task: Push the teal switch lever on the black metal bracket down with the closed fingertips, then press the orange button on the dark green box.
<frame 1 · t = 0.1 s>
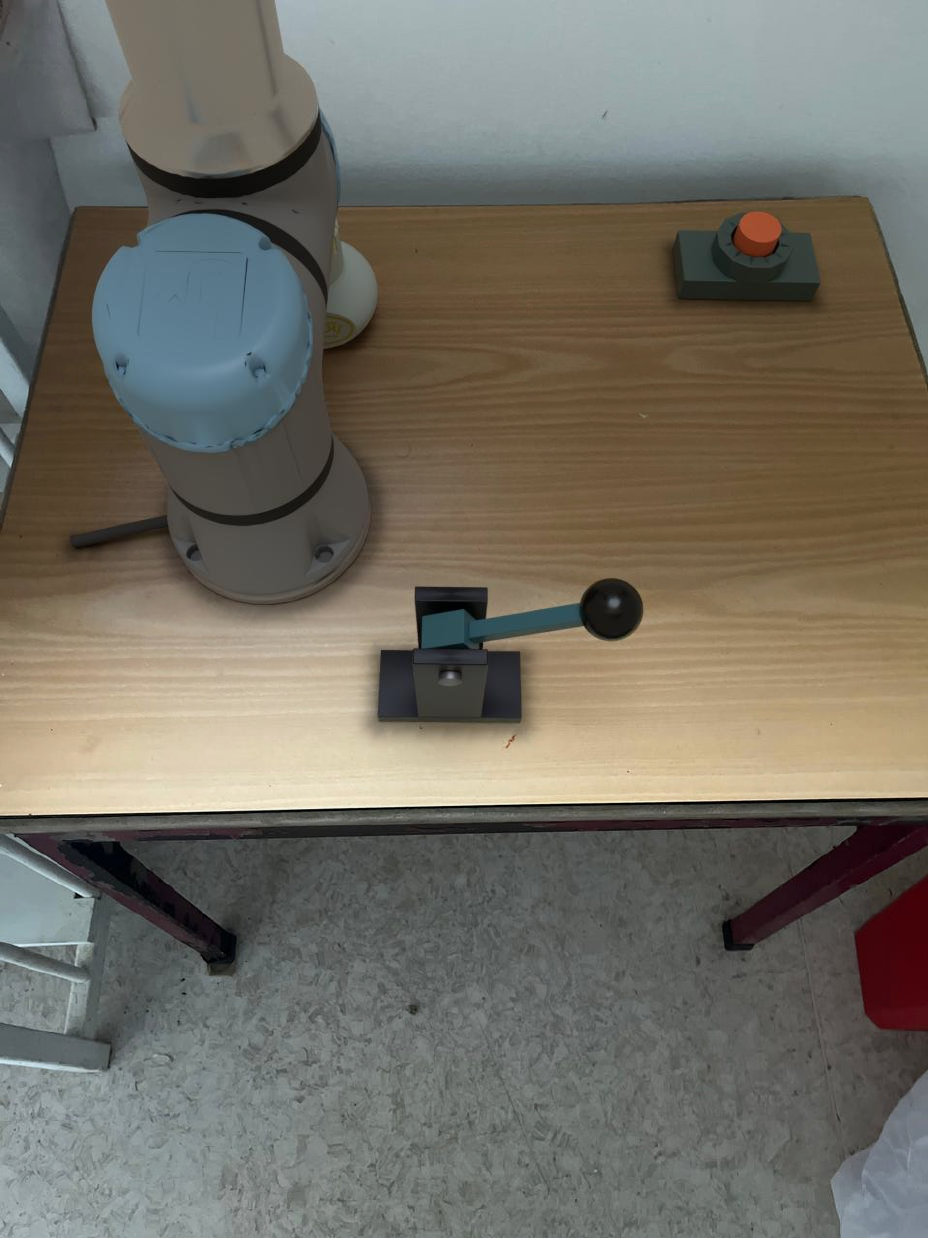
button: (757, 234, 73), point 4 cm above the table, slide at 0.1 cm
switch bracket: (450, 688, 61), on the table
air freshener: (318, 319, 74), on the table
button box: (740, 274, 77), on the table
switch lever: (531, 622, 50), point 12 cm above the table, hinge at 25.0°
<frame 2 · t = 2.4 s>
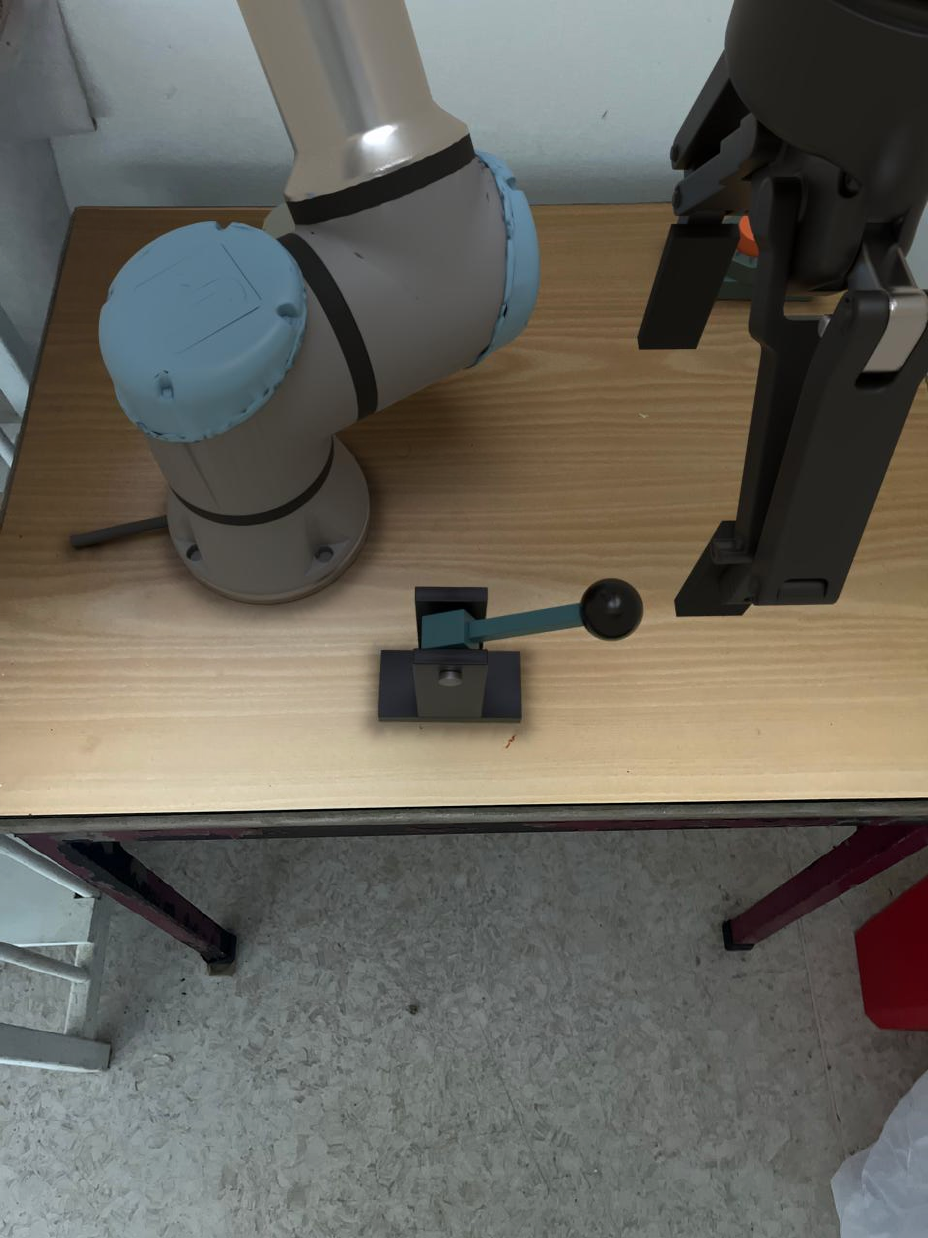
hand: (685, 466, 37), 27 cm above the table, tool pointing down, fingers open, 13 cm apart
nothing on the table moved.
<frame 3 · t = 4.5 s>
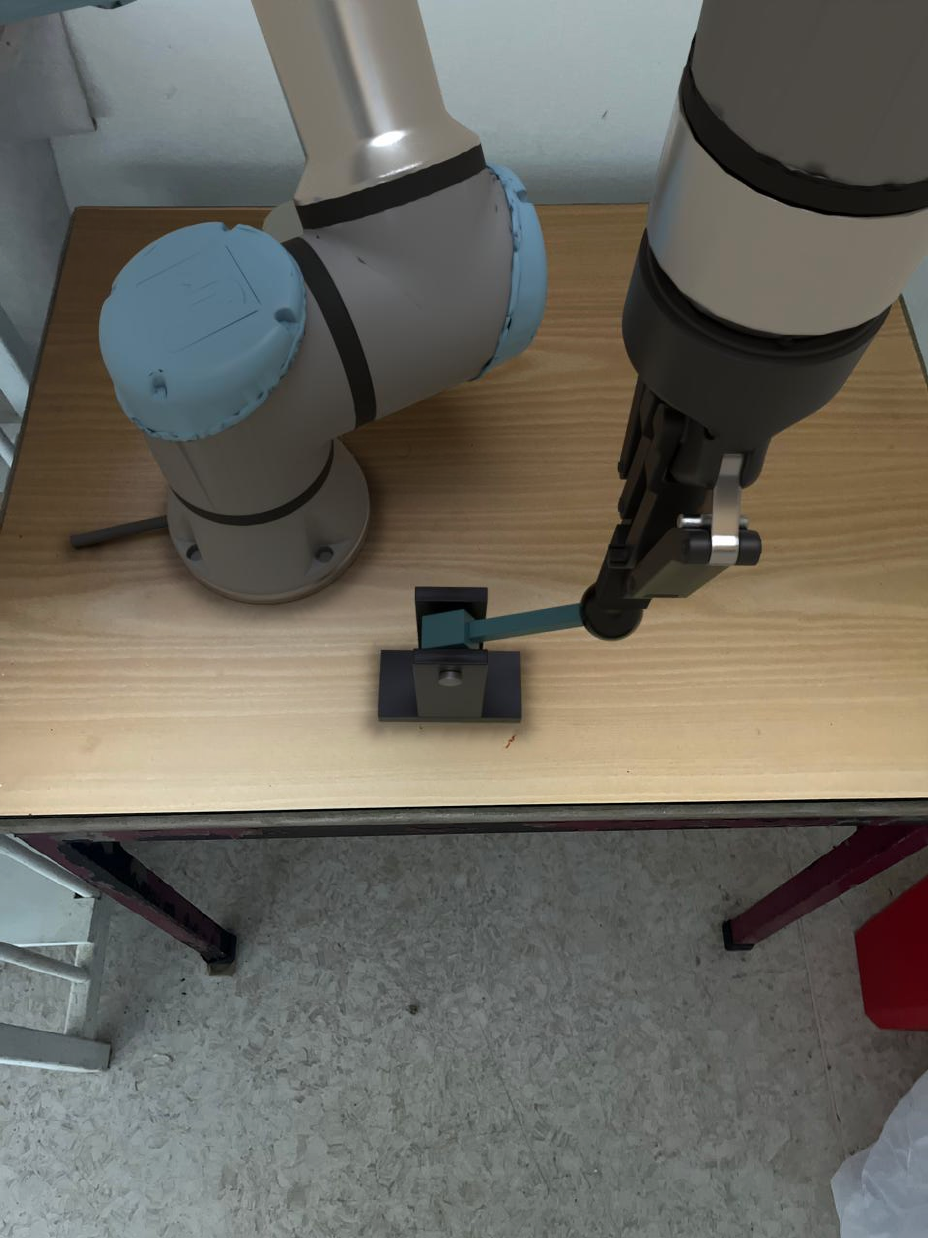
hand: (620, 596, 46), 16 cm above the table, tool pointing down, fingers closed
switch lever: (531, 622, 50), point 12 cm above the table, hinge at 25.0°, touching gripper
everything else where it was.
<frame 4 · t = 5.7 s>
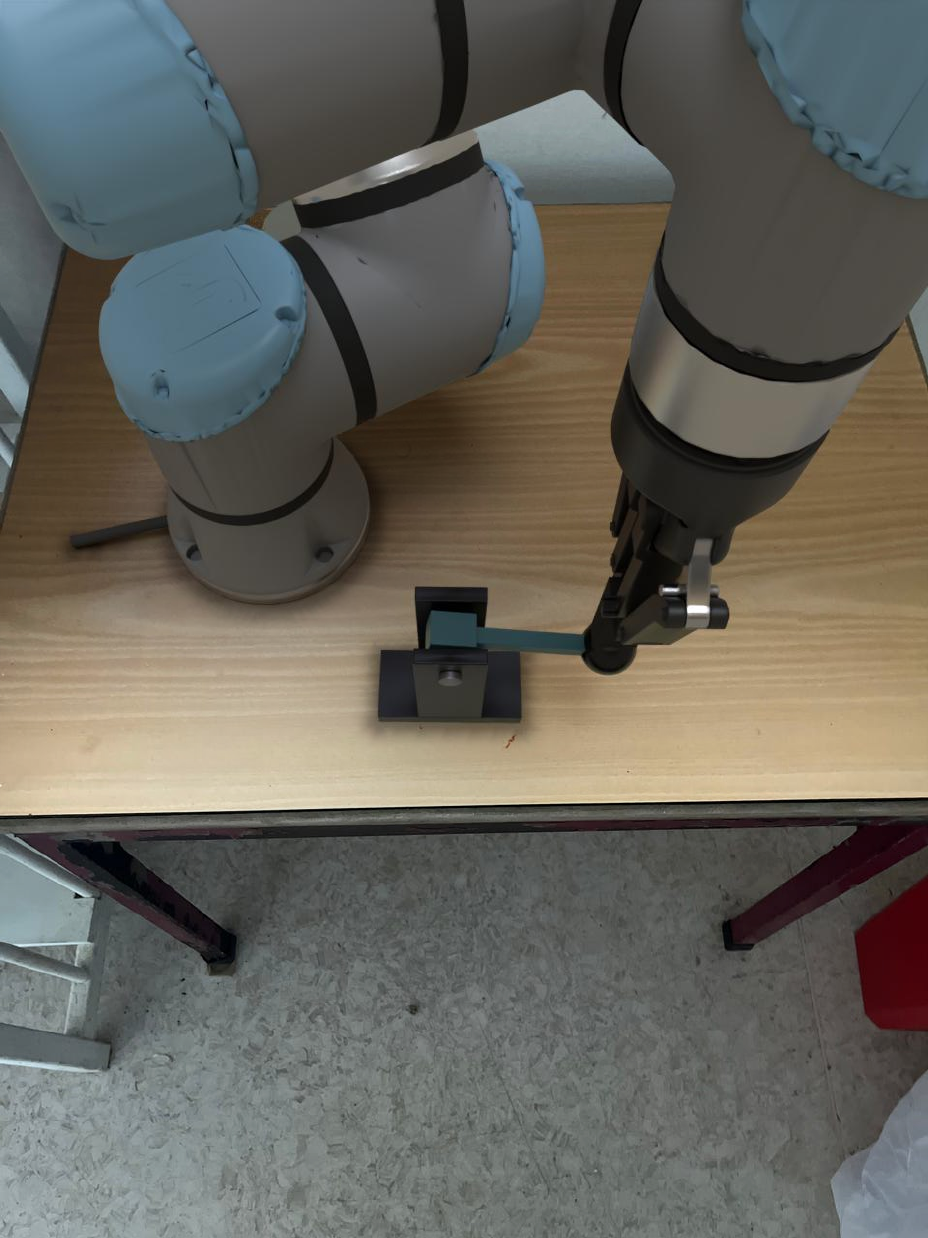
hand: (613, 635, 51), 11 cm above the table, tool pointing down, fingers closed
switch lever: (533, 641, 53), point 9 cm above the table, hinge at -8.5°, touching gripper
everything else where it was.
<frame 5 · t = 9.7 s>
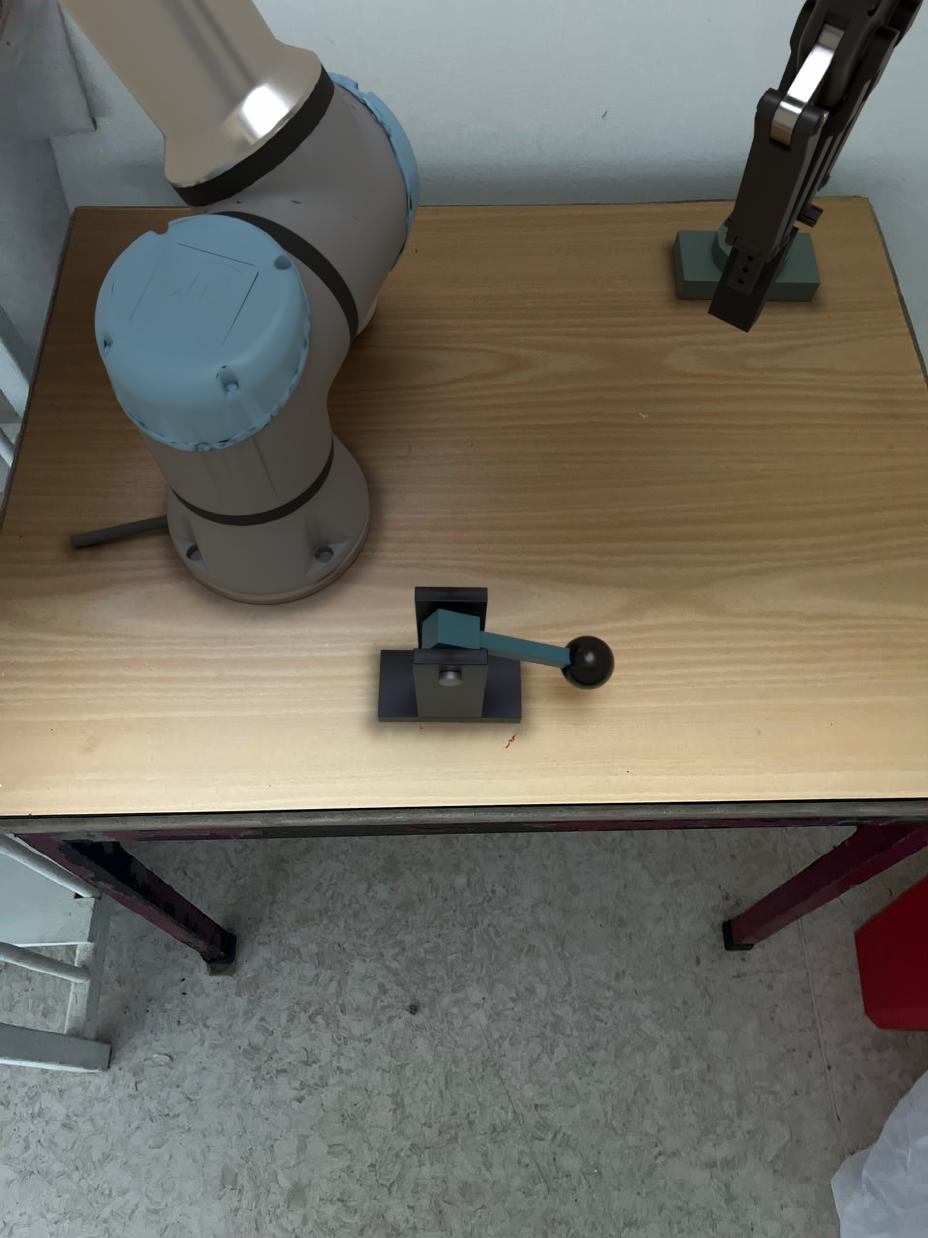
hand: (733, 314, 51), 19 cm above the table, tool pointing down, fingers closed
switch lever: (524, 650, 54), point 8 cm above the table, hinge at -25.7°
everything else where it was.
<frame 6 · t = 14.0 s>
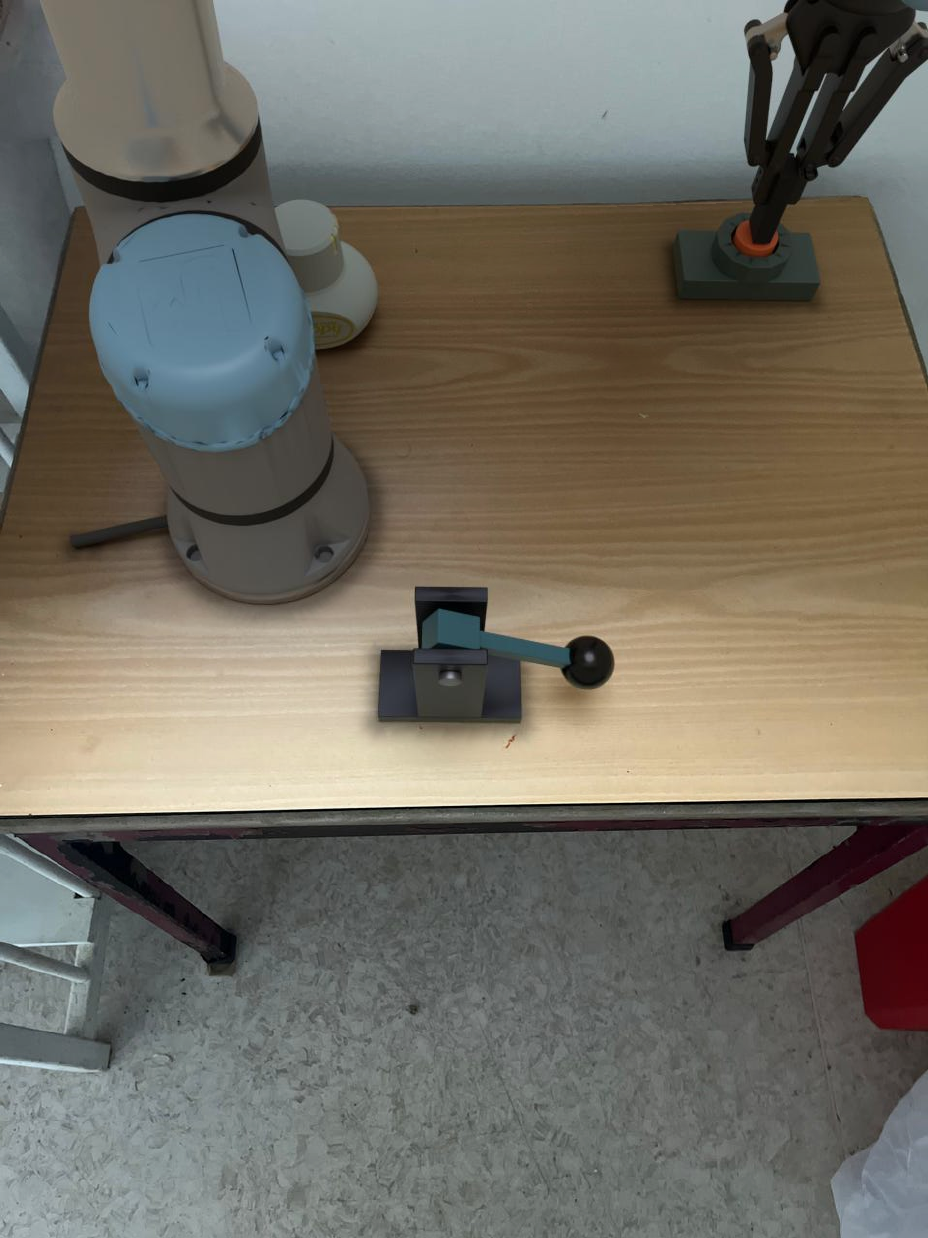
hand: (759, 231, 73), 5 cm above the table, tool pointing down, fingers closed
button: (754, 242, 74), point 4 cm above the table, slide at -0.7 cm, touching gripper
everything else where it was.
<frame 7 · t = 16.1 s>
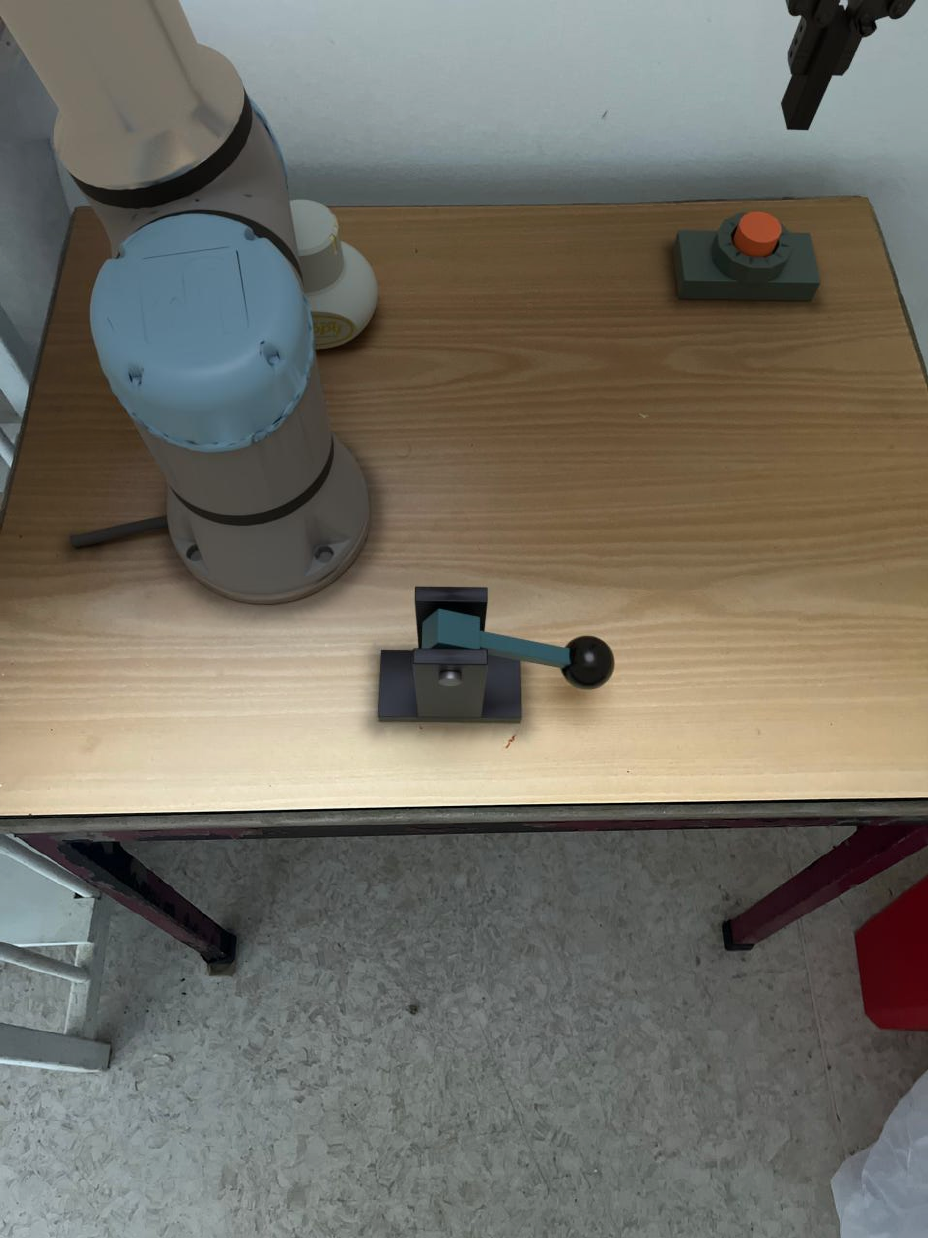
hand: (794, 116, 59), 18 cm above the table, tool pointing down, fingers closed
button: (757, 234, 73), point 4 cm above the table, slide at 0.1 cm
everything else where it was.
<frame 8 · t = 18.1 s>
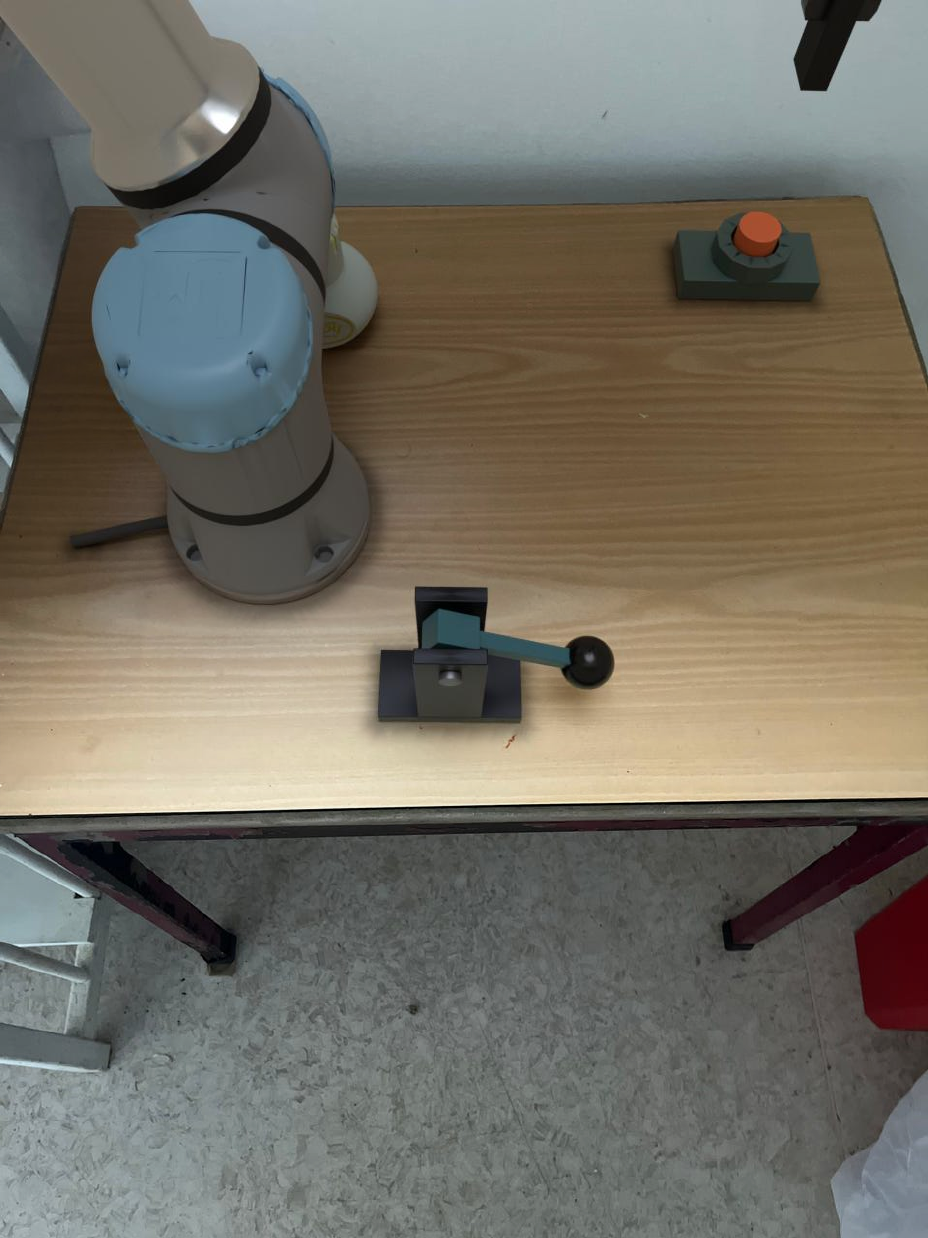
hand: (809, 74, 48), 26 cm above the table, tool pointing down, fingers closed
nothing on the table moved.
at the end: switch lever at -26° (first picture: +25°); button pushed in 1.0 cm at the most during the clip, back to where it started at the end; button slide at 0.1 cm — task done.
